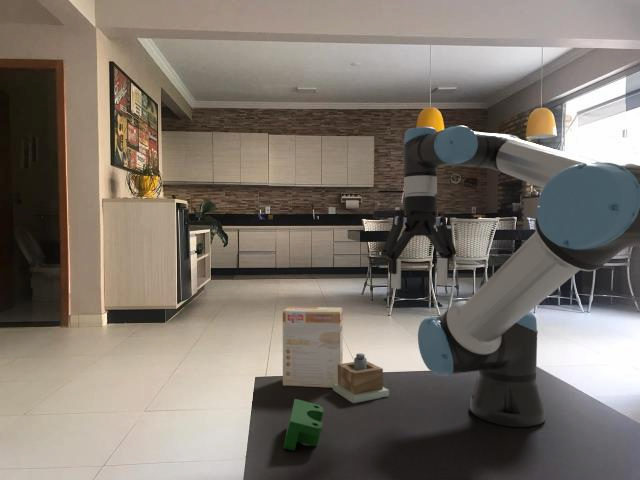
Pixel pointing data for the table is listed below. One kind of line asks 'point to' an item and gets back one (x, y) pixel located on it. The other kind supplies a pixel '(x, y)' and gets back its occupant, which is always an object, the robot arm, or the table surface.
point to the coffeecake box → (312, 346)
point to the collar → (360, 378)
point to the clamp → (304, 424)
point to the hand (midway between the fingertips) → (419, 286)
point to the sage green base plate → (360, 364)
